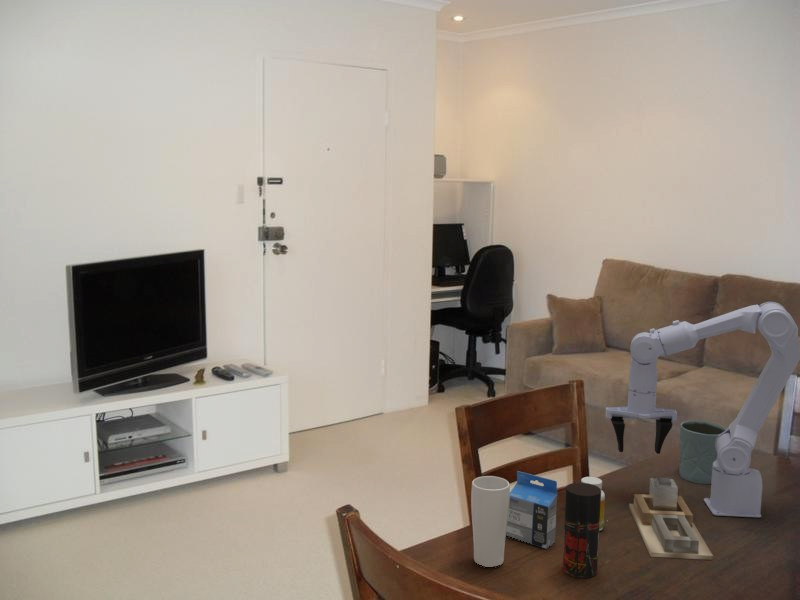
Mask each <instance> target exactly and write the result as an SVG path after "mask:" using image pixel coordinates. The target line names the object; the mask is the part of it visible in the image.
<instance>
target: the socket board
mask: <svg viewBox="0 0 800 600" xmlns="http://www.w3.org/2000/svg"><path fill="white" fill-rule="evenodd" d="M648 506H649V494H641V493H640V494H639V493H634V494H633V503H628V508H629V511H630V513H631V515H632V518H633V520H634V523H635V525H636V526H637V530H638V531H639V533H640V535H641V538H642V540H643V543H644V545H645V547H646V550H647V552H648V555H649V556H650V558H651V557H652V558H668V559H686V560H687V559H688V560H703V561H705V560H707V561H713V560H714V555H713V553H712V551H711V550H710V549H709V546H708V545H707V543H706V541H705V539H704V538H703V537H702V534H700V532H699V530H698V528H697V527H696V525H695V523H694V515H693V513H692V511H691V510H690V508H689V507H688V505H687V503H686V501H685V500H684V498H683V497H682V495H677V509H676V511H655V510H649V508H648Z"/></svg>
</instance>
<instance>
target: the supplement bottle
mask: <svg viewBox="0 0 800 600" xmlns="http://www.w3.org/2000/svg"><path fill="white" fill-rule="evenodd" d="M580 483H588V484H592V485H595V486H597V487H599V488H600V489H601V504H600V524H599V532H600V531H603V529H604V526H605V525H604V523H605V507H606V506H605V505H606V503H605V502H606V495H605V492H604V491H603V490H602V489H603V480H602V479H600V477H599V478H598V477H595V476H585V477H582V478H581V480H580Z"/></svg>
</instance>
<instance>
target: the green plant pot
mask: <svg viewBox="0 0 800 600" xmlns="http://www.w3.org/2000/svg"><path fill="white" fill-rule="evenodd" d="M726 430H727V428H726V427H724V426H723V425H721V424H718V423H714V422H711V421H710V422H709V421H706V420H705V421H703V420H687V421H682V422H681V423H680V425H679V440H680V443H679V476H680V477H681V479H683V480H685V481H688V482H691V483H695V484H701V485H702V484H703V485H705V484H709V485H710V484H711V482H712V468H713V462H714V461H716V459H717V451H716V449H715V441H716V439H717V437H718V436H719V435H720V434H721V433H723V432H725V431H726Z"/></svg>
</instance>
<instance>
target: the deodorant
mask: <svg viewBox="0 0 800 600" xmlns="http://www.w3.org/2000/svg"><path fill="white" fill-rule="evenodd" d="M601 490H602V488H601V489H600V488H599V487H597V486H595V485H592V484H588V483H581V482H573V483H570V484H567V485H566V487H565V505H564V506H565V510H564V526H563V527H564V530H563V552H562V570H564V571H565V572H566V573H567V575H568V574H570V575H572V576H571V577H573V576H574V577H573V578H576V577H577V579H578V578H579V579H589V578H590V579H591V578H593V577H595V576H596V575H597V574H598V563H599V562H598V559H599V542H600V531H599V524H600V504H601ZM564 571H563V572H564ZM565 572H564V573H565ZM566 573H565V574H566ZM570 575H569V576H570Z"/></svg>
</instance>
